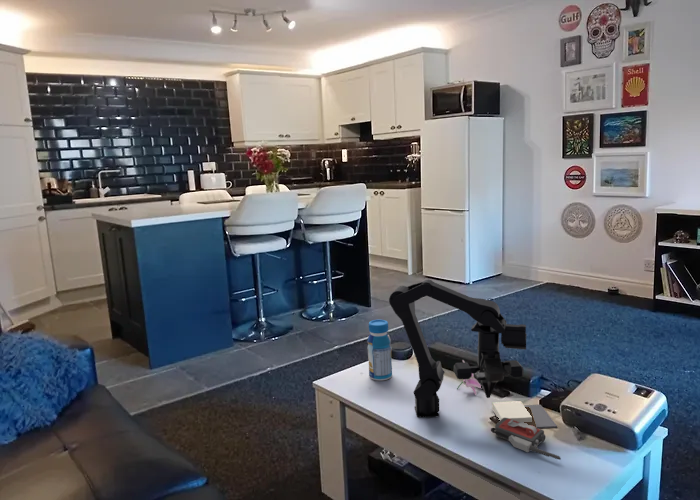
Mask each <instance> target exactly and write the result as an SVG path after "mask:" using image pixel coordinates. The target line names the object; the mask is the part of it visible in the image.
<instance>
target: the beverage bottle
mask: <svg viewBox="0 0 700 500" xmlns="http://www.w3.org/2000/svg"><path fill="white" fill-rule="evenodd" d="M368 332H369V335H368V337H367V344H368V345H367V346H366V347H367V349H366V351H367V357H368V376H369V378H370V379H371V380H374V381H378V382H379V381H380V382H383V381H387V380H389V379H391V378H392V377H393V366H392V365H393V364H392V350H393V349H392V345H391V342H392V340H391V337H390V335H389V333H388V332H389V322H388V321H387V320H384V319H372V320H370V321H369V322H368Z"/></svg>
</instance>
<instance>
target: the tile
mask: <svg viewBox="0 0 700 500" xmlns="http://www.w3.org/2000/svg"><path fill="white" fill-rule="evenodd" d="M491 403H492V404H491V406H492V407H491V409H492V411H493V412H494V414H495V416H496V418H497V417H498V418H499V419H498V418H497V419H498V421H499V420H502V419H503V418H509V419H512V420H515V421H518V422H532V416H531V415H530V413H529V412H528V411H527V409H526V408H525V406H524V404H523V402H522V401H521V400H518V401H517V400H515V401H513V400H511V401H497V402H496V401H495V402H491Z"/></svg>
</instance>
